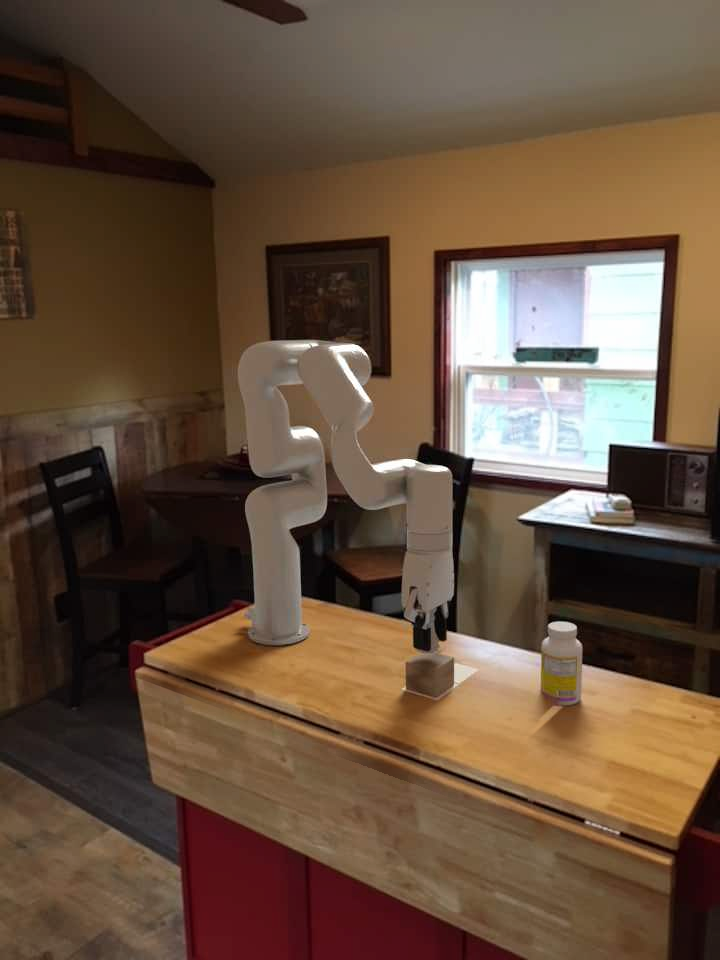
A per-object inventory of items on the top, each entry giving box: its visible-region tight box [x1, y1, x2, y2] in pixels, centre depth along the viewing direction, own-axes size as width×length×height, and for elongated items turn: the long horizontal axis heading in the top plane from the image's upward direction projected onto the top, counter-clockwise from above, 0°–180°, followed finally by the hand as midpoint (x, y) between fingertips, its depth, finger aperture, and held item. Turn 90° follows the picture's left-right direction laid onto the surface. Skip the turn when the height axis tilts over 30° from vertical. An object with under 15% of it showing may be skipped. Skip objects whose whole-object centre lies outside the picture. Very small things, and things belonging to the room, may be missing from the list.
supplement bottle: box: [540, 621, 583, 707], centre depth 135 cm, size 7×7×13 cm
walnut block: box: [405, 652, 455, 698], centre depth 138 cm, size 6×6×5 cm
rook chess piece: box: [414, 605, 441, 653], centre depth 137 cm, size 4×4×8 cm
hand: (430, 643), depth 137 cm, fingers closed on rook chess piece, 4 cm apart
